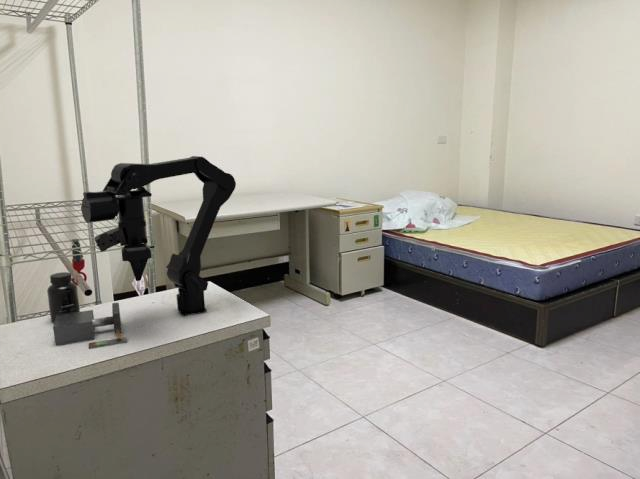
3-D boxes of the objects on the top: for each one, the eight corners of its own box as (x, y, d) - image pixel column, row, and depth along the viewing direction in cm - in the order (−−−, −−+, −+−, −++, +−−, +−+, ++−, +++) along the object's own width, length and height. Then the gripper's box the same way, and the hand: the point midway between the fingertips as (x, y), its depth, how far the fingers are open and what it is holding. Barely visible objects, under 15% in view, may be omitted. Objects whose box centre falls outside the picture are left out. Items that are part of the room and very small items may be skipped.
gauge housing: (125, 322, 122) (123, 305, 121) (127, 342, 111) (125, 324, 110) (58, 332, 116) (56, 315, 115) (53, 354, 105) (50, 335, 104)
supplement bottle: (68, 324, 121) (62, 279, 118) (45, 323, 122) (38, 278, 119) (86, 314, 127) (81, 271, 125) (64, 313, 129) (58, 270, 126)
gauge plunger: (120, 320, 122) (118, 302, 121) (122, 340, 110) (119, 320, 109) (67, 329, 117) (65, 309, 116) (63, 350, 106) (60, 329, 105)
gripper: (95, 213, 119) (102, 273, 123) (93, 227, 102) (101, 296, 106) (142, 210, 123) (148, 268, 127) (148, 222, 107) (154, 289, 110)
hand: (138, 279), depth 117 cm, fingers closed
